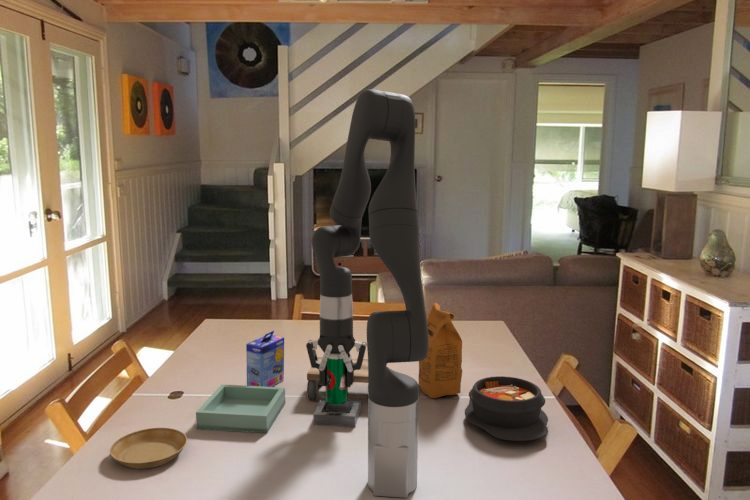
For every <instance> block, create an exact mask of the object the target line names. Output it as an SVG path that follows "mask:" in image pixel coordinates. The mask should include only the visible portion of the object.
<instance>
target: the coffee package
mask: <svg viewBox="0 0 750 500" xmlns="http://www.w3.org/2000/svg"><path fill="white" fill-rule="evenodd" d="M453 319H455V315H454V313H452V312H448V311H443V310H441V306H440V304H438V302H434V303H433V304H432V307H431V309H430V311H429V313H428V315H427V325H428V336H429V347H428V353H427V356H426V358H425V359H424V360H422V361H418V386H420V387H419V388H420V389H421V391H422V393H423V394H424V395H426V396H428V397H429V398H430V399H437V398H441V397H444V396H455V395H459V394H461V393H462V392H461V390H462V389H461V386H462V377H463V367H462V362H463V339H462V337H461V336H460V333H459V332H458V330H457V329H456V327H455V326H454V324H453V322H452V320H453Z"/></svg>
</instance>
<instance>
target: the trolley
mask: <svg viewBox="0 0 750 500" xmlns="http://www.w3.org/2000/svg"><path fill="white" fill-rule="evenodd" d="M317 358H318V361H319V362H321V361H322V358H323V356H322V357H321V356H317ZM352 361H353V363H357V358H352ZM306 380H307V385H306V397H307V399H308V400H314V401H316V399H317V396H318V390H319V386H322V384H320V382H319V370H318V369H317V368H312V367H311V366H310V368H309V370H308V372H307V373H306ZM353 383H363V384H368V358H367V359H366V358H363V362H362V366H361V369H360V370H354V382H353ZM322 387H323V386H322Z"/></svg>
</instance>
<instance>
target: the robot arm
mask: <svg viewBox="0 0 750 500" xmlns="http://www.w3.org/2000/svg"><path fill="white" fill-rule="evenodd" d="M415 111H416V110H415V107H414V103H413V101H412V99H411V97H409V96H407V95H405V94H402V93H396V92H392V91H391V92H390V91H386V90H379V89H374V88H373V89H370V88H369V89H364V90H363V91H362V92H361V93H360V94H359V95H358V96H357V99H356V102H355V103H354V108H353V111H352V114H351V121H350V124H349V131H348V135H347V136H348V137H347V140H346V148H345V152H344V153H345V154H344V159H343V165H342V170H341V175H340V178H339V183H338V186H337V188H336V191H335V194H334V197H333V199H332V203H331V206H330V208H329V215H330V218H331V219H332V221H334V223H336V224H338V225H336V224H335V225H326V226H325V225H324V226H320V227H318V228H316V229H315V230H314V232H313V235H312V237H311V247H312V250H313V255H314V258H315V261H316V265H317V269H318V274H319V278H320V282H319V283H320V285H319V287H320V296H319V298H320V299H319V338H318V339H315V340H313V339H309V340H308V341H307V343H306V345H305V346H306V351H307V354H308V358H309V359H308V360H309V363H310V368H311V367H312V368H317V369H318V370H319V382H320V384H322V387H326V373H325V366H326V363H327V358H328V357H329V354H330V353H341V356H342V358H343V361H344V363H345V364H346V367H347V370H348V371H347V387H348V388H351V386H353V384H354V383H355V382H354V370H360V369H361V366H362V362H363V359H365V358H364V357H365V354H366V351H367V359H368V383H367V385H368V387H367V391H368V393H367V395H368V396H367V399H368V400H367V401H368V402H367V408H368V409H367V486H368V487H369V489H371V491H372V492H373V496H376V497H377V496H378V497H389V498H390V497H391V498H403V499H404V498H405V499H406V498H408V497H409V495H410V494H411V493H413V492H414V491H415V490H416V488H417V486H418V459H419V457H418V455H419V451H418V447H419V402H420V399H419V397H420V396H419V395H420V387H419V386H420V385H419V382H418V381H417V380H416V379H415V378H414V377H411V376H410V375H407V374H405V373H401V372H399V371H395V370H393V369H392V368H390V367H388V366H387V365H388V364H391V363H392V364H393V363H395V364H396V363H413V362H414V363H415V362H419V361H422V360H424V359H425V358H426V356H427V353H428V347H429V336H428V325H427V319H428V316H427V310H426V304H425V303H426V302H425V296H424V288H423V282H422V281H423V280H422V271H421V268H422V267H421V249H420V247H421V246H420V228H419V227H420V225H419V213H418V212H419V211H418V201H417V190H416V172H415V171H416V170H415V160H416V159H415V156H416V155H415V152H416V151H415V149H416V113H415ZM369 140H377V141H385V142H389V144H390V157H389V164H388V168H387V170H386V172H385V174H384V175H383V177H382V180H381V181H380V183H379V184H378V186H377V187H376V189H375V191H374V193H373V194H372V196H371V193H372V184H371V183H372V182H371V178H370V174H369V171H368V168H367V167H368V166H367V164H366V160H365V158H366V157H365V151H366V148H367V147H366V146H367V144H368V141H369ZM370 197H371V199H370ZM368 203H369V205H368ZM367 205H368V210H367V211H368V227H369V228H368V230H369V240H370V244H371V246H372V248H373V250H374V252H375V253H376V254H377V255H378V257H379V259H380V260H381V261H382V263H383V264H384V265H385V267H386V269H388V271H389V273H390V274H391V275H392V277H393V278H394V280H395V281H396V285H398V287H399V289H400V292H401V294H402V297H403V301H404V304H405V310H381V311H372V312H371V313H370V314H369V316H368V318H367V322H366V342H365V341H362V342H360V341H356V339H355V337H354V302H353V292H352V290H353V286H352V284H353V282H352V281H353V277H352V271H351V270H350V268H348V267H343V266H339V265H336V262H335V261H334V259H335V258H340V257H341V258H342V257H349V256H352V255H354V254H355V253H356V251H358V250H359V248H360V245H361V234H362V231H361V230H362V221H363V219H362V218H363V217H364V213H365V211H366V208H367ZM318 347H319V348H320V349H321V351H322V352H323V353H324V354H323V356H322V357H323V358H322V361H321V362H319V361H318V358H317V357H318V354H317V349H318ZM354 347H355V351H356V353H358V354H357V358H356V359H357V363H353V361H352V359H353V358H352V357H353V356H352V354H351V352H350V351H352V349H353V348H354Z"/></svg>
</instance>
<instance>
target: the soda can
mask: <svg viewBox="0 0 750 500" xmlns="http://www.w3.org/2000/svg"><path fill="white" fill-rule="evenodd" d="M347 371H348V370H347V367H346V364H345V363H344V361H343V358H342V356H341V353H330V354H329V357H328V358H327V363H326V366H325V373H326V386H325V398H326V401H327V402H328V403H329V404H331V405H341V404H344V403H345V402H346V401H347V400H348V399H349V391H348V390H349V389H348V388H349V387H347Z"/></svg>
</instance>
